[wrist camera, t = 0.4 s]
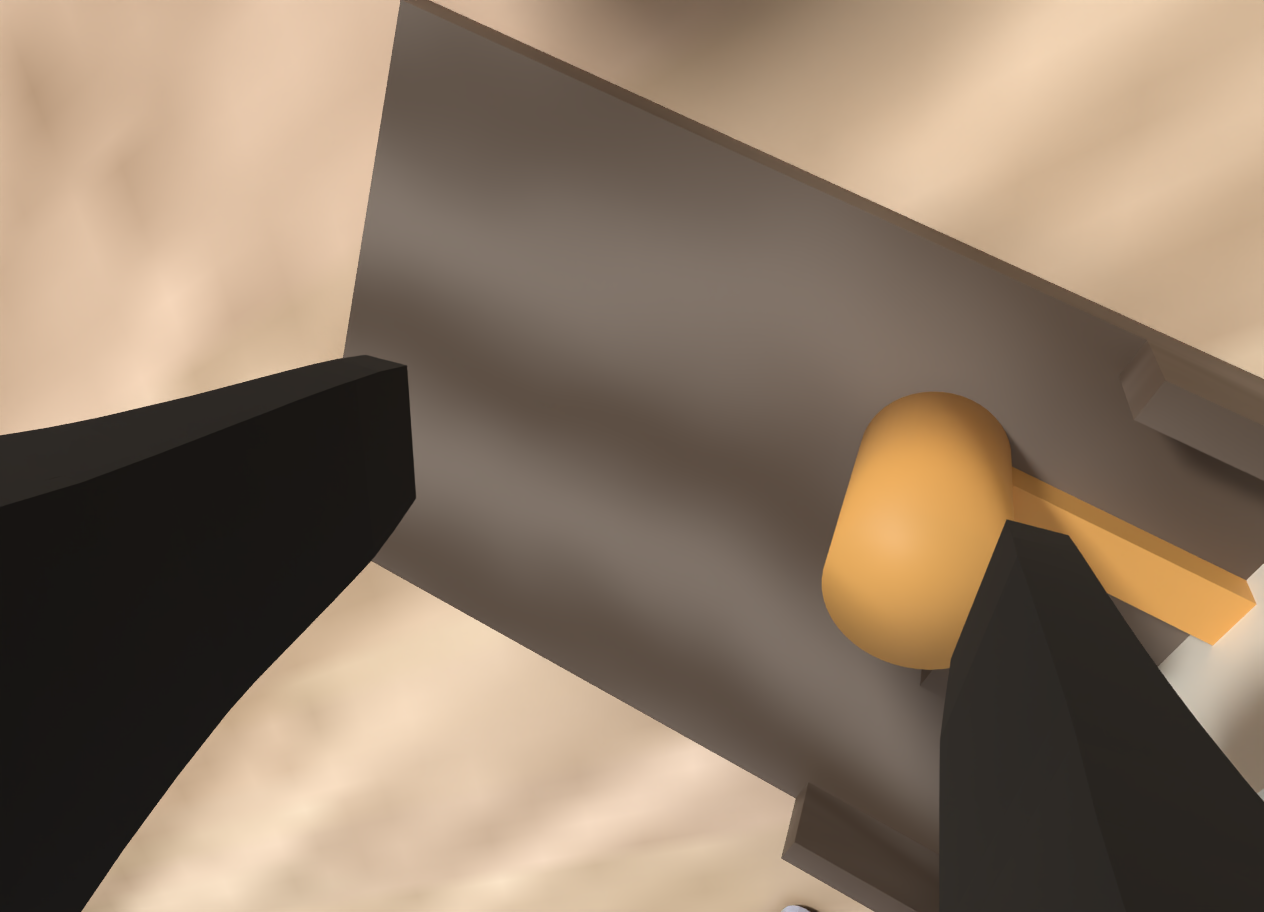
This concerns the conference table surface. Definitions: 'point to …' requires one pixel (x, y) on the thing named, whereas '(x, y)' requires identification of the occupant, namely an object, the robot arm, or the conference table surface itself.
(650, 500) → the lane rack
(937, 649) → the orange mallet
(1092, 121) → the conference table surface
